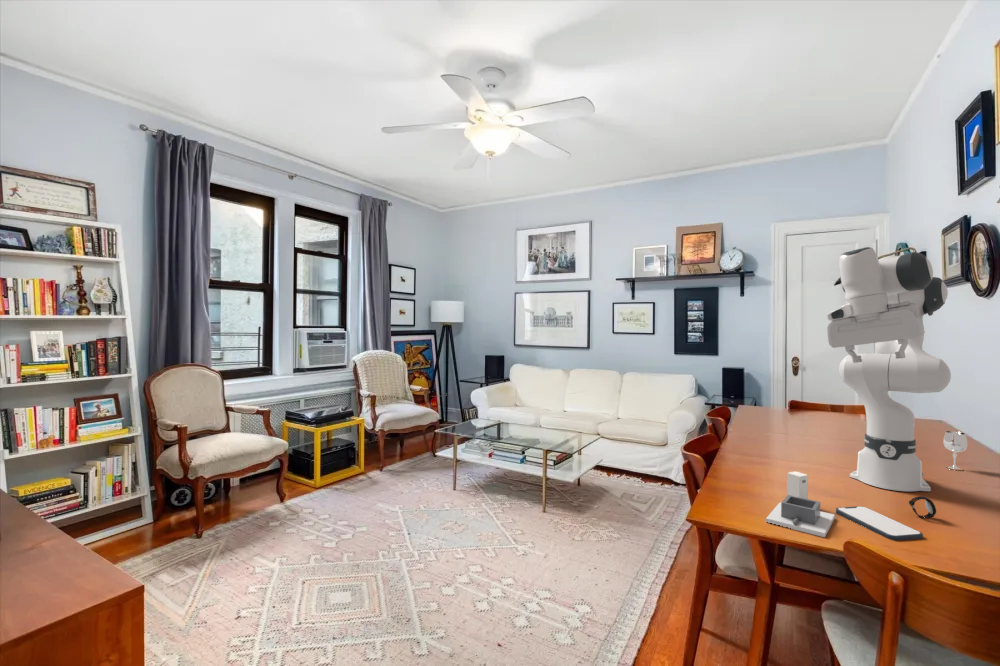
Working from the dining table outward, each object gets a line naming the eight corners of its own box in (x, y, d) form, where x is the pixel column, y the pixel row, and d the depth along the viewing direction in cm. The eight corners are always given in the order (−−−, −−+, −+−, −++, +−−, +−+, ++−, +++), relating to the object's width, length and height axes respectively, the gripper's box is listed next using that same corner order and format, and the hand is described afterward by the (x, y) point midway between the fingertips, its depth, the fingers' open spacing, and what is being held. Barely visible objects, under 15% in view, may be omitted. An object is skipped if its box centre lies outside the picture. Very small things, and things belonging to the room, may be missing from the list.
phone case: (926, 541, 108) (863, 511, 124) (926, 534, 108) (863, 505, 124) (892, 543, 107) (832, 513, 123) (892, 536, 107) (833, 507, 123)
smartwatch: (936, 522, 117) (936, 502, 117) (908, 516, 120) (908, 496, 120) (935, 517, 120) (936, 497, 120) (908, 511, 123) (909, 492, 123)
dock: (779, 505, 127) (780, 488, 127) (834, 518, 119) (835, 500, 119) (765, 522, 117) (766, 504, 117) (824, 537, 109) (825, 517, 108)
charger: (795, 500, 131) (795, 471, 131) (808, 504, 128) (808, 475, 127) (786, 502, 130) (787, 472, 129) (799, 506, 126) (800, 476, 126)
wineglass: (965, 472, 154) (966, 435, 154) (941, 468, 158) (942, 432, 158) (967, 469, 158) (968, 432, 157) (943, 465, 162) (944, 429, 162)
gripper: (921, 299, 119) (934, 354, 117) (831, 315, 136) (840, 363, 135) (912, 299, 116) (924, 356, 114) (820, 315, 133) (830, 365, 131)
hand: (878, 360), depth 124 cm, fingers open, 8 cm apart
